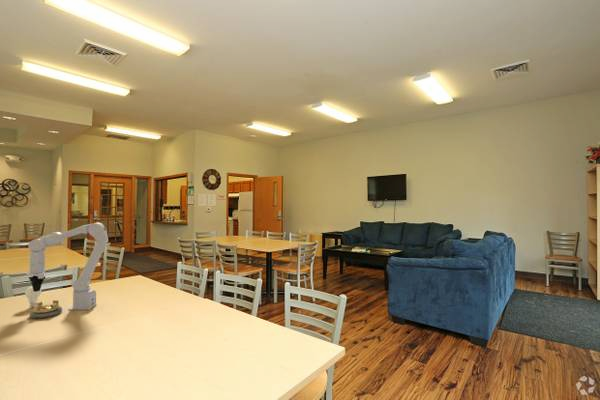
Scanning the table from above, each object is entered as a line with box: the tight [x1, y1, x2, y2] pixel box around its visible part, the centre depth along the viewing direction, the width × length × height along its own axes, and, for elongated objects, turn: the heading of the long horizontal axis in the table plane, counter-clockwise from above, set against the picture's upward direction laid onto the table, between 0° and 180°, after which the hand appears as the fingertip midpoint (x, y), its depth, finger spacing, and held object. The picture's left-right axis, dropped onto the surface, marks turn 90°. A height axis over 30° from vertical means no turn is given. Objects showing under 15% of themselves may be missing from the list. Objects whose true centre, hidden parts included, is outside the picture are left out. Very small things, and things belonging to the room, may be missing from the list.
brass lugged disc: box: [32, 299, 61, 314], centre depth 147 cm, size 10×10×3 cm
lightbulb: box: [24, 285, 42, 309], centre depth 156 cm, size 6×6×11 cm
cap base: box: [29, 306, 63, 320], centre depth 147 cm, size 12×12×2 cm
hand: (36, 291), depth 149 cm, fingers closed
